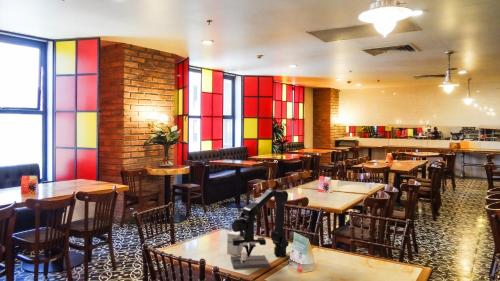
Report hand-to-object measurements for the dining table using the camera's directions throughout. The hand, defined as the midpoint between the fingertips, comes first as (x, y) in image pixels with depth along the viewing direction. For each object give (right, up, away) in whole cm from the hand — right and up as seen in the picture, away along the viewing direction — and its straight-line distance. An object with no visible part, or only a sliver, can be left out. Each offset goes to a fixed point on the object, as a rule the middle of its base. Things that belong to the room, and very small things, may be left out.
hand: (248, 256), depth 219 cm
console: (+1, -4, 0) cm, 4 cm away
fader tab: (-3, -2, 0) cm, 3 cm away
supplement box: (-8, -3, +18) cm, 20 cm away
